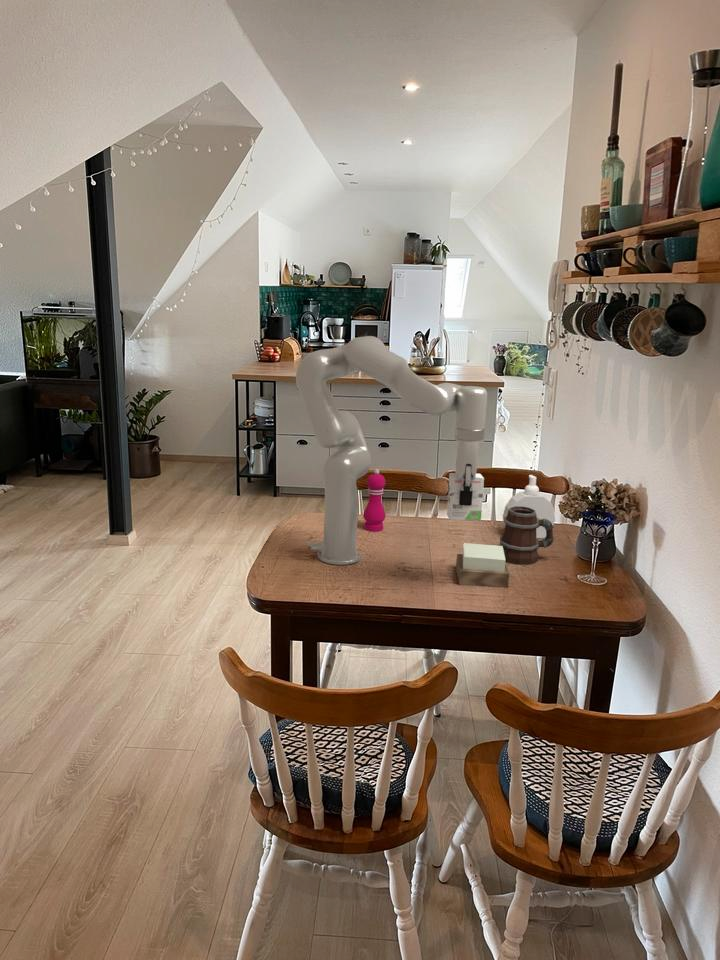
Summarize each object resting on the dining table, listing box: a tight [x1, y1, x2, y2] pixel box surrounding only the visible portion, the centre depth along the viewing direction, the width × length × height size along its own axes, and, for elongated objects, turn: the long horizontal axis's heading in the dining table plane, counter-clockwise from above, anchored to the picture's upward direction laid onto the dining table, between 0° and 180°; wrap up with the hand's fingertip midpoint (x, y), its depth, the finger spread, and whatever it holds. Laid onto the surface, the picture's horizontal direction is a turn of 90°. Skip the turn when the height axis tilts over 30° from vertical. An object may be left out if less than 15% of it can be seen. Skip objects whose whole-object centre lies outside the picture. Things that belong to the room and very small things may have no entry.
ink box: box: [446, 472, 485, 521], centre depth 194 cm, size 9×5×12 cm, turn 92°
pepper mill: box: [362, 468, 386, 532], centre depth 238 cm, size 7×7×20 cm
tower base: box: [455, 553, 510, 589], centre depth 204 cm, size 13×13×4 cm
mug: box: [499, 506, 555, 565], centre depth 218 cm, size 16×12×15 cm
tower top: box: [461, 542, 506, 572], centre depth 203 cm, size 11×11×4 cm
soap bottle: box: [502, 474, 556, 539], centre depth 238 cm, size 16×5×20 cm, turn 97°
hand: (464, 501), depth 195 cm, fingers closed on ink box, 5 cm apart
